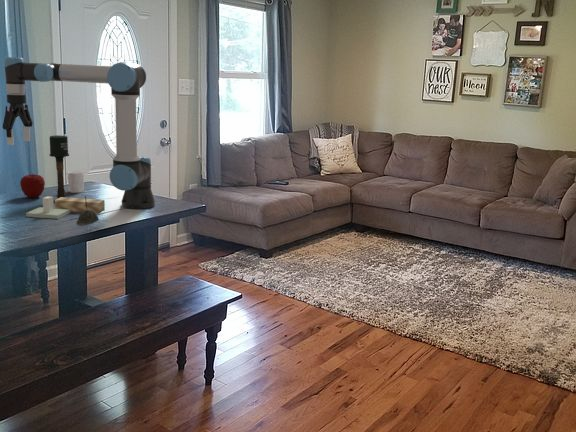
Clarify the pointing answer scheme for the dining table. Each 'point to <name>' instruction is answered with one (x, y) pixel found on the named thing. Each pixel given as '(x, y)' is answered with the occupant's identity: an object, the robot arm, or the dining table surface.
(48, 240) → the dining table surface
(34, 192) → the apple
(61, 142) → the stick grenade
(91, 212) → the sword in stone
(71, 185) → the white cup
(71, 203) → the beam
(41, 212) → the fulcrum
